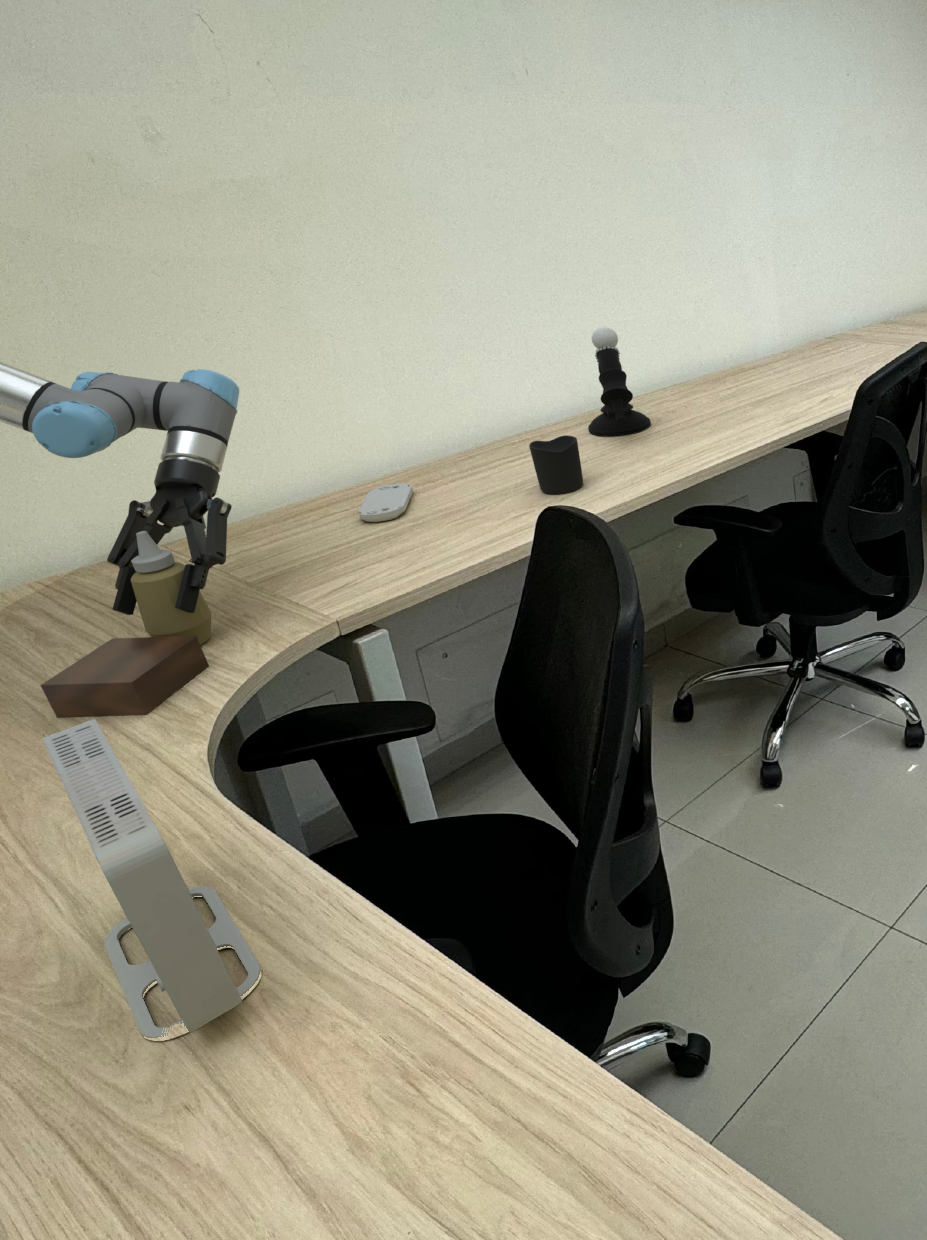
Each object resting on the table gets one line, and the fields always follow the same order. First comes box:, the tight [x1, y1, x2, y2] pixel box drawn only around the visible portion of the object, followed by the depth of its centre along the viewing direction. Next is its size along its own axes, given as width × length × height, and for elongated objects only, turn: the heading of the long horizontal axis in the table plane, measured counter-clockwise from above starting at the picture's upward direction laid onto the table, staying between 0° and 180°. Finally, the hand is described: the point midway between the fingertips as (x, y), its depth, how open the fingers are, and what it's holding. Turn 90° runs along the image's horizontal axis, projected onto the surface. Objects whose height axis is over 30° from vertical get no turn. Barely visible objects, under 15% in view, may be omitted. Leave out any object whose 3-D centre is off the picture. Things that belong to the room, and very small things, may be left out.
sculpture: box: [587, 326, 652, 437], centre depth 221 cm, size 15×24×25 cm, turn 20°
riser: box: [40, 636, 210, 718], centre depth 123 cm, size 12×12×5 cm
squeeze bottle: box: [131, 531, 212, 646], centre depth 132 cm, size 8×8×18 cm
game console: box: [357, 482, 414, 523], centre depth 184 cm, size 18×2×8 cm
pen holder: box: [528, 435, 584, 495], centre depth 189 cm, size 9×9×10 cm
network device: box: [41, 718, 262, 1038], centre depth 78 cm, size 26×9×20 cm, turn 48°
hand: (153, 611), depth 130 cm, fingers open, 8 cm apart
